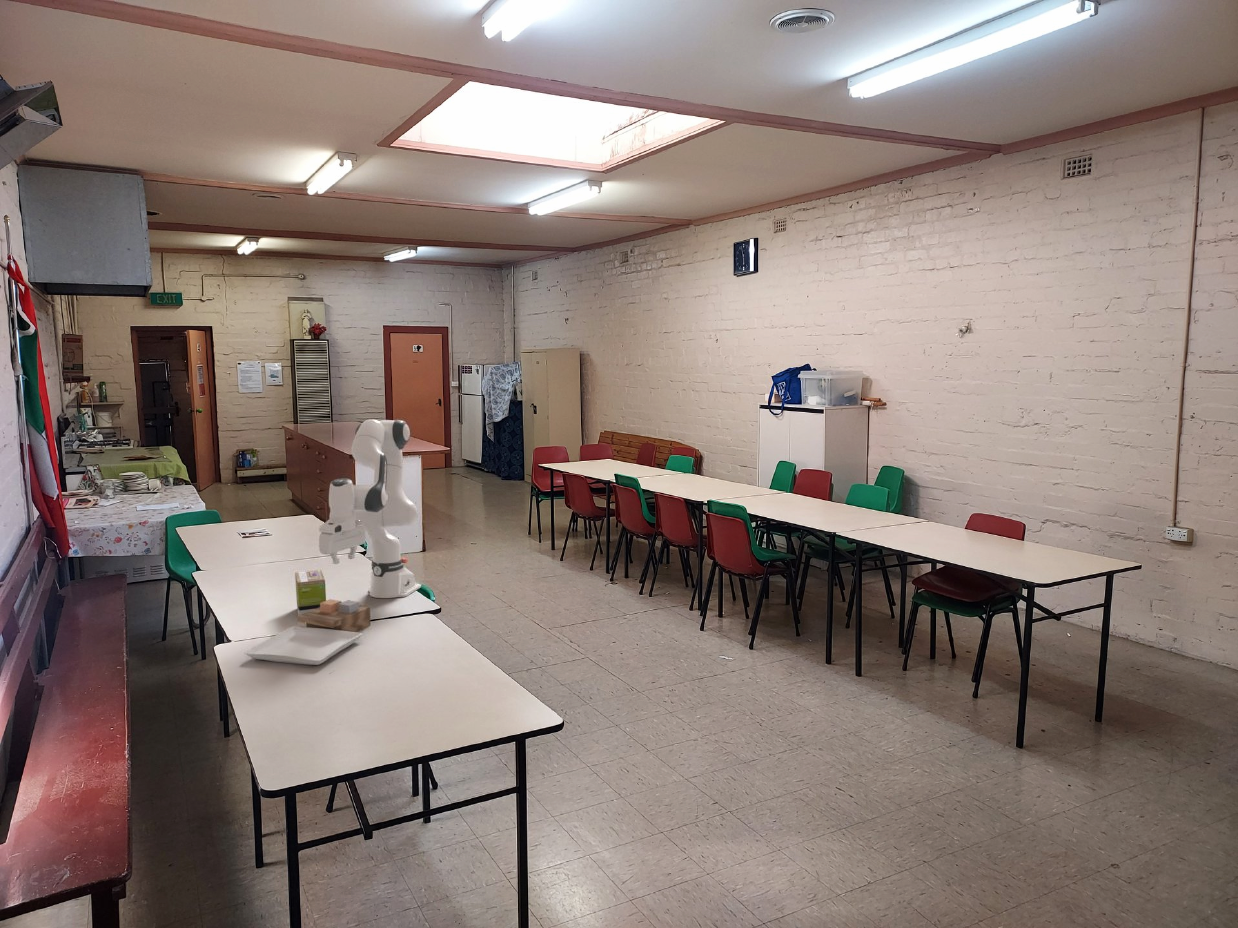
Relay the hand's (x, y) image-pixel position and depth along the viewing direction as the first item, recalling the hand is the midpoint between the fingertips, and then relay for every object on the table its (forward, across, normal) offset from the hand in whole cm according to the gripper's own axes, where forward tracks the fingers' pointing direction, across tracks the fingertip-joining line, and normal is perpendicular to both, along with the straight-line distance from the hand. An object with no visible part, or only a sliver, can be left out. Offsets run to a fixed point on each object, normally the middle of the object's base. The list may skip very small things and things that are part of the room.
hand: (343, 561), depth 297 cm
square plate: (+24, +28, +8) cm, 38 cm away
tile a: (+16, +7, 0) cm, 18 cm away
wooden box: (+23, +8, +2) cm, 25 cm away
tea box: (+24, -4, -20) cm, 31 cm away
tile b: (+16, +5, +7) cm, 18 cm away
